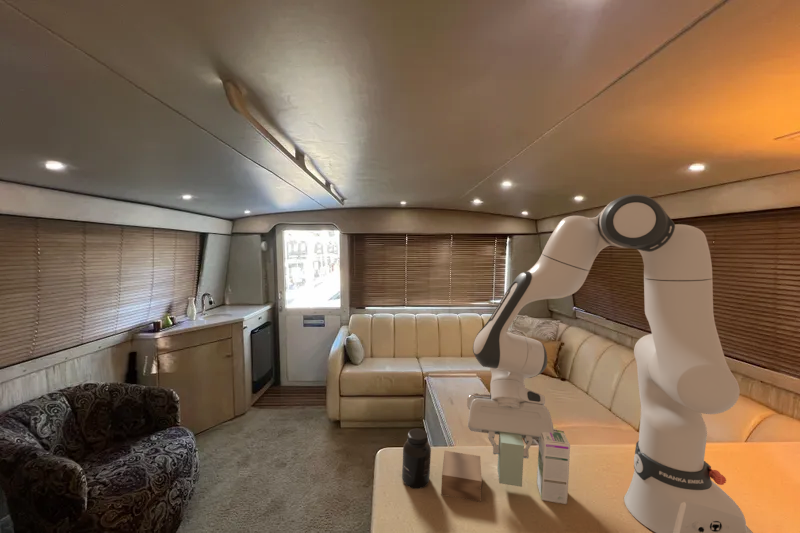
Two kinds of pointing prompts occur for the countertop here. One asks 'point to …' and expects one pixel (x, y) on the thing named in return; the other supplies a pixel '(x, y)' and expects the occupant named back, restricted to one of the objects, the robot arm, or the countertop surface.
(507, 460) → the sage block
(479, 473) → the block
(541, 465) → the syrup box
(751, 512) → the countertop surface
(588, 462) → the countertop surface
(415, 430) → the supplement bottle
